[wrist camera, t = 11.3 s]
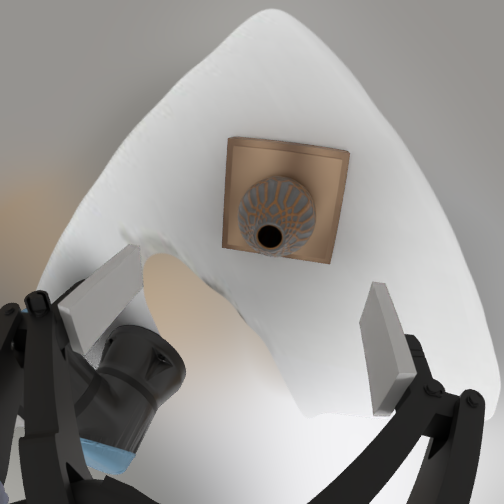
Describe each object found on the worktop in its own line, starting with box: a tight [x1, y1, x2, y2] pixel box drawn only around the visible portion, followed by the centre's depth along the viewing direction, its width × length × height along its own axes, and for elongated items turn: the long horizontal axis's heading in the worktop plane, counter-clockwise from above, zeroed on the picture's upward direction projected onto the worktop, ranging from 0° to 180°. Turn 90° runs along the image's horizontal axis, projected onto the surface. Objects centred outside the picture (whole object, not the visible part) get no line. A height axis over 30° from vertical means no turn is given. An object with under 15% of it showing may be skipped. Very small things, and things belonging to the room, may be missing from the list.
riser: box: [222, 137, 350, 264], centre depth 31 cm, size 12×12×3 cm
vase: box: [238, 176, 316, 257], centre depth 26 cm, size 7×7×9 cm
